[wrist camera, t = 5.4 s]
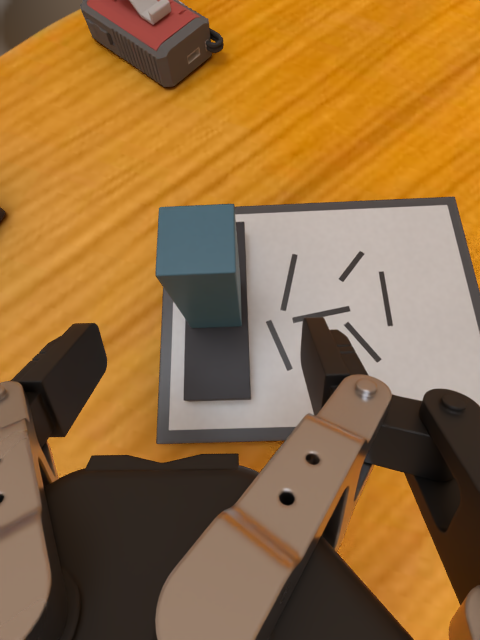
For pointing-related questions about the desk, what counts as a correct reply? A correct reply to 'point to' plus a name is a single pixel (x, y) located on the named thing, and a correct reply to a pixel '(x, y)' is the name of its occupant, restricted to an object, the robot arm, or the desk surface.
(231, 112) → the desk surface
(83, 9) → the walkie-talkie
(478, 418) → the robot arm
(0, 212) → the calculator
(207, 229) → the eraser
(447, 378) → the whiteboard
